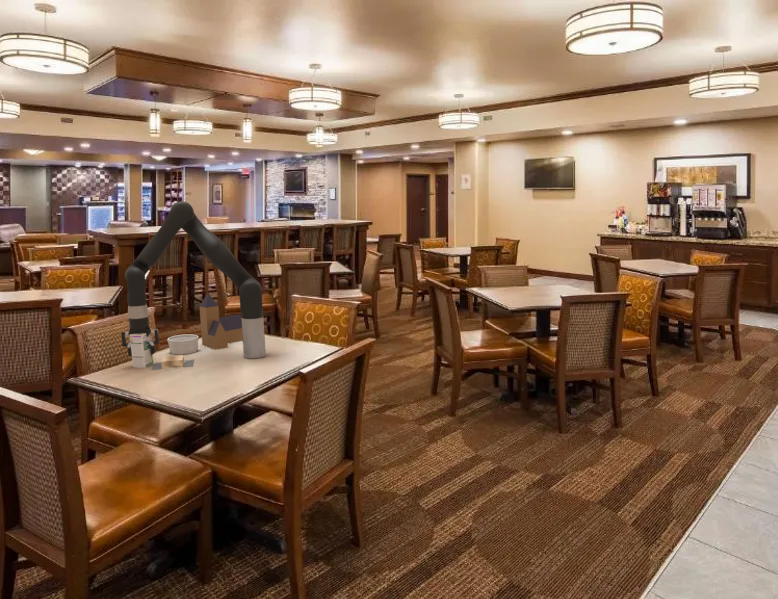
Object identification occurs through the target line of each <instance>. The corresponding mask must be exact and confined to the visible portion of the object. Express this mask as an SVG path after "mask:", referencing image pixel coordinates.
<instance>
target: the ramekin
mask: <svg viewBox="0 0 778 599" xmlns="http://www.w3.org/2000/svg"><path fill="white" fill-rule="evenodd" d="M199 340H200V338H199V336H198V335H197V334H188V333H187V334H178V335H172V336H169V337H168V338H167V343H168V348H169V352H170V354H172V355H176V356H178V355H188V354H193V353H197V351H198V349H199Z"/></svg>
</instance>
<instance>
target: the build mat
mask: <svg viewBox="0 0 778 599" xmlns="http://www.w3.org/2000/svg"><path fill="white" fill-rule="evenodd" d="M194 364H195V359H187V360H186V359H184V364H183V367H179V368H178V369H185V368H192V367H194ZM157 370H158V371H159V370H160V371H161V370H162V371H163V370H164V369H162V364H161V362H153V365H152V367H151V371H157ZM166 370H175V368H167V369H166Z"/></svg>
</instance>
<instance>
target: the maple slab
mask: <svg viewBox="0 0 778 599" xmlns="http://www.w3.org/2000/svg"><path fill="white" fill-rule="evenodd" d="M184 356H185V354H181V355H167V356H162V359H161V364H162V369H163V370H168V369H167V368H174V369H180V368H179V367H183V364H184V360H185V358H184Z"/></svg>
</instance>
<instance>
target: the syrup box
mask: <svg viewBox="0 0 778 599" xmlns="http://www.w3.org/2000/svg"><path fill="white" fill-rule="evenodd" d="M145 335H146V333H144V334H142V333H137V334H130V335H129V342H130V341H131V339H132V341H133V343H131V352H132V356H131V360H132V367H133V368H141V369H145V368H148V367H151V366H153V365H154V358H153V355H152V354H151V344H150V343H149V342H148V341H147V340H146V336H145ZM148 338H151V339H152V337H151V334H150V335H149V336H148Z"/></svg>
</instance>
